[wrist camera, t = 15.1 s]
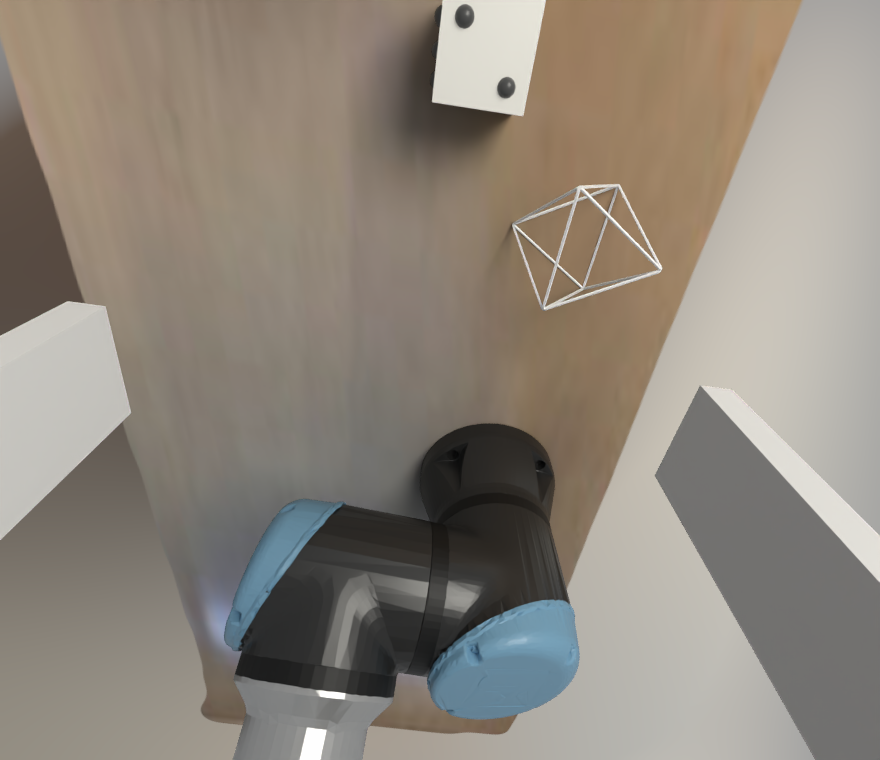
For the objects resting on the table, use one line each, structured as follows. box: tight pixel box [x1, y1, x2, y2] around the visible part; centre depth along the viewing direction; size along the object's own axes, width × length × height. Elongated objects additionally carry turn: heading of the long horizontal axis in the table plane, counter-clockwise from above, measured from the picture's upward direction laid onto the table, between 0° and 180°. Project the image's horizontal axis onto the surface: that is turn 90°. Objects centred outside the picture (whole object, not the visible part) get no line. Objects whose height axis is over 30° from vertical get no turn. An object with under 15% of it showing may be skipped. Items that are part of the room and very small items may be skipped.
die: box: [430, 0, 546, 116], centre depth 31 cm, size 6×6×6 cm
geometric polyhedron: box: [512, 184, 662, 311], centre depth 37 cm, size 10×9×8 cm
